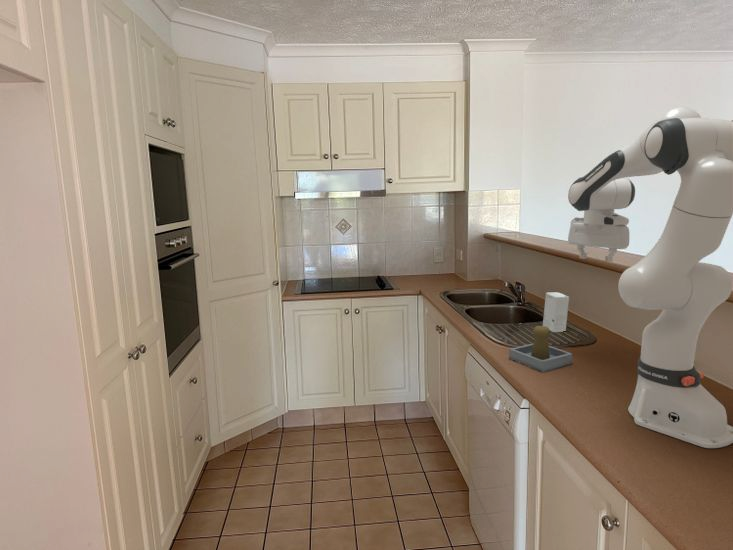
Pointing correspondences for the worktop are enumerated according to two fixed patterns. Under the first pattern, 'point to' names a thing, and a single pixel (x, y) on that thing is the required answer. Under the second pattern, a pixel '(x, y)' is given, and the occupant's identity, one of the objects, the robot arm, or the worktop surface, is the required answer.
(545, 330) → the cork
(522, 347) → the tray
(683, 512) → the worktop surface
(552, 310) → the skincare box
